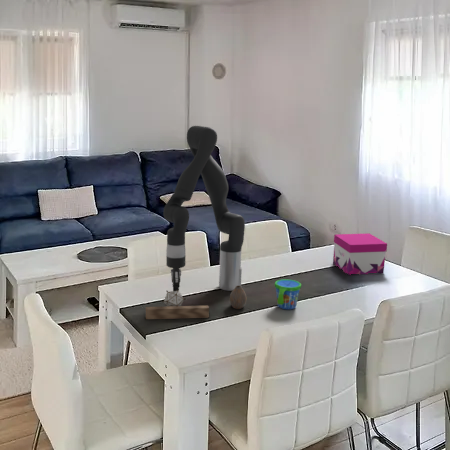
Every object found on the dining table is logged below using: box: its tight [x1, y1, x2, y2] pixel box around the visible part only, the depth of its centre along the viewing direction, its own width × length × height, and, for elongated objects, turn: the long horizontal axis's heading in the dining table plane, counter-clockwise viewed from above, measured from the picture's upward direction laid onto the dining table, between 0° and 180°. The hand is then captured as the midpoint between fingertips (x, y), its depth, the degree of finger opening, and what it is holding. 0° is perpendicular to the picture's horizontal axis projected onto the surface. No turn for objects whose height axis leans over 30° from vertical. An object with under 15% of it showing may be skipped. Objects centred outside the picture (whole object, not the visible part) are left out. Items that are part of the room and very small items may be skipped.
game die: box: [161, 288, 186, 306], centre depth 243 cm, size 9×8×10 cm
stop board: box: [145, 305, 210, 320], centre depth 236 cm, size 24×2×4 cm, turn 98°
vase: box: [229, 285, 248, 310], centre depth 248 cm, size 7×7×9 cm
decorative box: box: [332, 233, 388, 276], centre depth 301 cm, size 19×19×15 cm
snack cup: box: [274, 278, 302, 310], centre depth 249 cm, size 16×10×10 cm
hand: (175, 295), depth 248 cm, fingers closed
